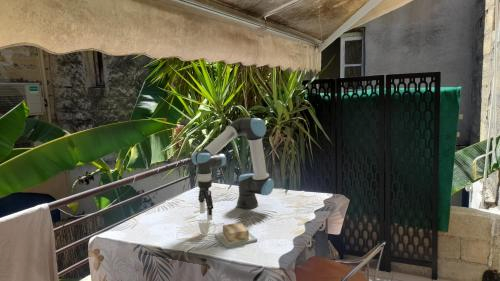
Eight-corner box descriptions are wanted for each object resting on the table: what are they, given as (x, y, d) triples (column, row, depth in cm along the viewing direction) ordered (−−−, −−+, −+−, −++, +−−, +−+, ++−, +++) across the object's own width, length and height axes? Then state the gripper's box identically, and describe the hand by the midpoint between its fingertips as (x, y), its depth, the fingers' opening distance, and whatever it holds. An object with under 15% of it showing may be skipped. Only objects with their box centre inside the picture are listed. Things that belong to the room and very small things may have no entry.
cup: (199, 232, 206) (198, 218, 205) (216, 231, 207) (215, 218, 206) (197, 236, 199) (197, 223, 198) (215, 236, 200) (214, 222, 199)
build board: (243, 230, 207) (243, 228, 207) (257, 241, 191) (257, 239, 191) (215, 236, 200) (215, 233, 200) (226, 248, 184) (226, 245, 183)
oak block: (241, 230, 203) (241, 222, 203) (248, 239, 191) (248, 230, 190) (223, 233, 200) (222, 225, 199) (229, 242, 187) (229, 233, 187)
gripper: (192, 176, 209) (193, 211, 211) (205, 185, 186) (206, 224, 189) (204, 175, 212) (205, 209, 214) (218, 184, 189) (219, 222, 192)
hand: (206, 216), depth 201 cm, fingers open, 13 cm apart
